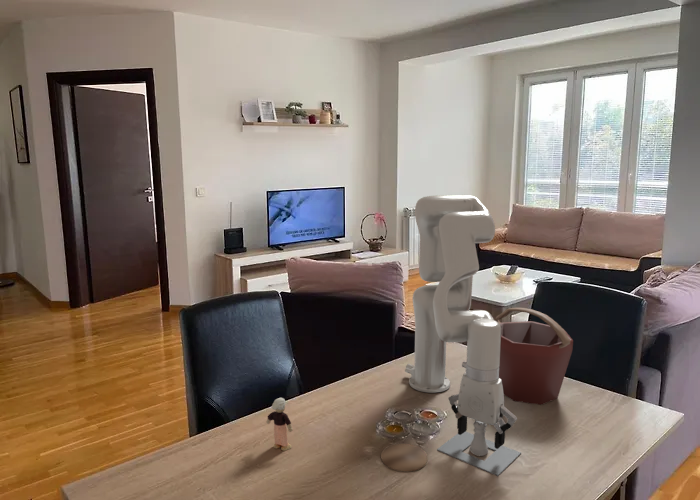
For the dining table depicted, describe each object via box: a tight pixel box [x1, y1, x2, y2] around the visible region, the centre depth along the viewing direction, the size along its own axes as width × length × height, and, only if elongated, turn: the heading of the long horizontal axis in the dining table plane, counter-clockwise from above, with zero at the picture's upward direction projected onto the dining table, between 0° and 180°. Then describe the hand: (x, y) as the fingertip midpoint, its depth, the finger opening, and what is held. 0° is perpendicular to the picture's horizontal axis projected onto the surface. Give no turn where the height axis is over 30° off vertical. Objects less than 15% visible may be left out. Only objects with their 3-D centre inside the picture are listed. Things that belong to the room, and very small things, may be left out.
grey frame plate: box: [436, 431, 522, 477], centre depth 130 cm, size 16×12×1 cm
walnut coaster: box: [380, 443, 429, 473], centre depth 127 cm, size 11×11×1 cm
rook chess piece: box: [469, 420, 489, 457], centre depth 129 cm, size 4×4×8 cm
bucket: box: [493, 307, 574, 406], centre depth 160 cm, size 24×22×25 cm
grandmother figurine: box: [265, 397, 294, 452], centre depth 132 cm, size 8×4×13 cm, turn 71°
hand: (480, 439), depth 129 cm, fingers open, 9 cm apart
